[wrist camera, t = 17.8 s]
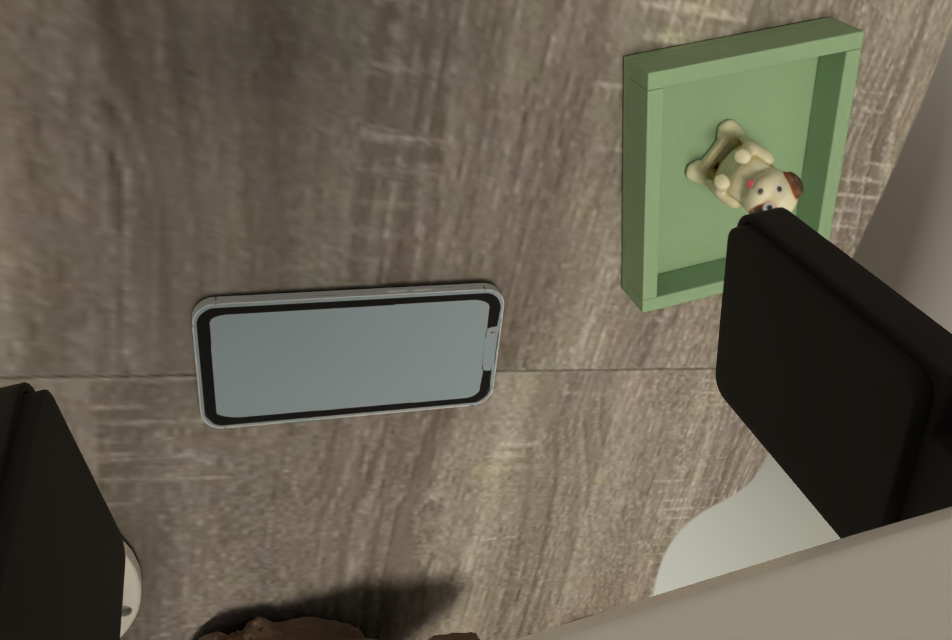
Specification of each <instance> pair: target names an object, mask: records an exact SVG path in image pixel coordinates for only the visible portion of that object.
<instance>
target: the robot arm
mask: <svg viewBox="0 0 952 640" xmlns="http://www.w3.org/2000/svg"><path fill="white" fill-rule="evenodd" d="M716 381H717V385H718V389H719V391H720V393H721V395H722V396H723V398H724V399H725V400H726V402H727V403H728V404H729V405H730V406H731V408H732V409H733V410H734V411H735V412H736V414H737V415H738V416H739V417H740V418H741V420H742V421H743V422H744V423H745V424H746V426H747V427H748V428H749V429H750V430H751V432H752V433H753V434H754V435H755V436H756V438H757V439H758V440H759V441H760V442H761V444H762V445H763V446H764V447H765V448H766V449H767V451H768V452H769V453H770V454H771V455H772V457H773V458H774V459H775V460H776V461H777V462H778V464H779V465H780V466H781V467H782V469H783V470H784V471H785V472H786V473H787V474H788V476H789V477H790V478H791V479H792V481H793V482H794V483H795V484H796V485H797V487H798V488H799V489H800V490H801V491H802V493H803V494H804V495H805V496H806V497H807V499H808V500H809V501H810V502H811V503H812V505H813V506H814V507H815V508H816V509H817V511H818V512H819V513H820V514H821V515H822V516H823V518H824V519H825V520H826V521H827V522H828V524H829V525H830V526H831V527H832V528H833V530H834V531H835V532H836V533H837V534H838V536H839V537H840V538H841V539H839V540H836V541H832V542H829V543H826V544H823V545H819V546H816V547H813V548H809V549H806V550H803V551H800V552H796V553H793V554H790V555H786V556H783V557H780V558H777V559H773V560H770V561H767V562H764V563H761V564H757V565H754V566H750V567H747V568H744V569H741V570H738V571H734V572H731V573H728V574H724V575H721V576H718V577H714V578H711V579H708V580H705V581H701V582H698V583H695V584H692V585H688V586H686V587H682V588H679V589H676V590H673V591H669V592H666V593H663V594H659V595H656V596H653V597H650V598H647V599H643V600H640V601H637V602H634V603H631V604H627V605H624V606H621V607H618V608H614V609H611V610H608V611H605V612H602V613H598V614H595V615H592V616H589V617H586V618H582V619H579V620H576V621H573V622H570V623H566V624H563V625H560V626H557V627H554V628H550V629H547V630H544V631H541V632H538V633H534V634H531V635H528V636H525V637H522V638H518V639H515V640H952V334H951V333H950V332H948V331H947V330H946V329H944V328H943V327H942V326H940V325H939V324H938V323H936V322H935V321H934V320H933V319H931V318H930V317H929V316H927V315H926V314H925V313H923V312H922V311H921V310H919V309H918V308H917V307H915V306H914V305H913V304H911V303H910V302H909V301H907V300H906V299H905V298H903V297H902V296H901V295H899V294H898V293H897V292H896V291H894V290H893V289H892V288H890V287H889V286H888V285H886V284H885V283H884V282H882V281H881V280H880V279H878V278H877V277H876V276H874V275H873V274H872V273H870V272H869V271H868V270H867V269H865V268H864V267H863V266H861V265H860V264H858V263H857V262H856V261H855V260H853V259H852V258H851V257H849V256H848V255H847V254H845V253H844V252H843V251H841V250H840V249H839V248H837V247H836V246H835V245H834V244H832V243H831V242H830V241H828V240H827V239H826V238H824V237H823V236H822V235H820V234H819V233H818V232H816V231H815V230H814V229H812V228H811V227H810V226H808V225H807V224H806V223H804V222H803V221H802V220H801V219H799V218H798V217H797V216H795V215H794V214H793V213H791V212H790V211H789V210H787V209H785V208H783V207H778V208H773V209H769V210H765V211H760V212H756V213H752V214H747V215H744V216H743V217H741V218H740V220H739V222H738V224H737V227H735V228H733V229H731V230H730V232H729V235H728V240H727V251H726V263H725V274H724V285H723V296H722V308H721V319H720V330H719V341H718V353H717V364H716ZM141 594H142V577H141V571H140V565H139V563H138V561H137V559H136V557H135V555H134V553H133V551H132V550H131V549H130V548H129V546H128V545H127V544H126V543H125V542H124V541H123V539H122V536H121V533H120V531H119V529H118V527H117V525H116V523H115V521H114V519H113V517H112V515H111V513H110V511H109V509H108V507H107V505H106V503H105V501H104V499H103V497H102V494H101V492H100V490H99V488H98V486H97V484H96V482H95V480H94V478H93V476H92V474H91V472H90V470H89V468H88V466H87V464H86V462H85V460H84V458H83V456H82V454H81V452H80V450H79V448H78V446H77V444H76V442H75V440H74V438H73V436H72V434H71V432H70V430H69V428H68V426H67V424H66V422H65V419H64V417H63V415H62V413H61V411H60V409H59V407H58V405H57V403H56V401H55V399H54V397H53V396H52V394H51V393H50V392H49V391H48V390H46V389H45V390H40V391H36V392H35V390H34V389H33V387H32V386H31V385H30V384H28V383H25V382H24V383H20V384H15V385H11V386H7V387H2V388H0V640H120V638H121V637H122V636H123V635H124V633H125V632H126V631H127V630H128V629H129V628H130V626H131V624H132V622H133V621H134V619H135V617H136V615H137V613H138V609H139V606H140V602H141Z"/></svg>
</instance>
